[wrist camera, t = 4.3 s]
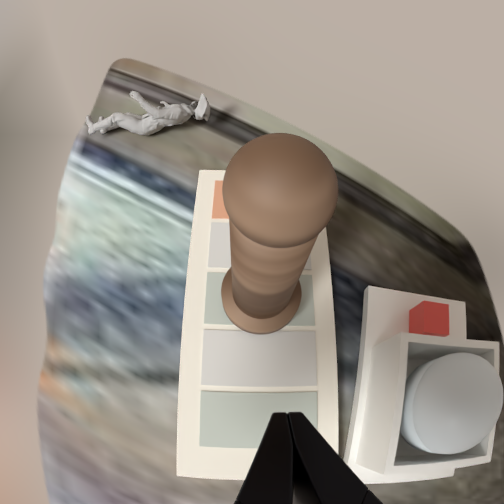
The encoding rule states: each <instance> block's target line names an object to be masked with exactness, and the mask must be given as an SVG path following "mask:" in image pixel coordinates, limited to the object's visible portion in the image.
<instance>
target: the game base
mask: <svg viewBox="0 0 504 504" xmlns="http://www.w3.org/2000/svg"><path fill="white" fill-rule="evenodd" d="M453 353H471V354H475V355H478V356H480V357H482V358H484V359H486V360H487V361H488V362H489V363H490V364H491V365H492V366H493V367H494V368H495V370H496V371H497V373H498V375H499V342H493V341H481V340H470V339H466V307H465V302H462V301H456V300H450V299H444V298H438V297H432V296H426V295H420V294H414V293H409V292H403V291H397V290H391V289H385V288H380V287H374V286H368V287H367V288H366V289H365V290H364V301H363V316H362V329H361V340H360V351H359V360H358V369H357V378H356V386H355V393H354V400H353V407H352V414H351V420H350V426H349V432H348V438H347V443H346V449H345V454H344V459H343V461H344V462H345V463H346V464H347V465H348V466H349V467H350V469H351V470H352V471H353V472H354V473H355V474H356V475H357V476H358V478H359V479H360V480H361V481H362V482H363V483H364V484H378V483H397V482H410V481H421V480H429V479H437V478H444V477H451V476H453V475H454V470H455V468H460V467H467V466H472V465H478V464H483V463H487V462H490V461H491V455H492V449H493V442H494V435H495V427H496V424H495V426H494V427H493V429H492V430H491V432H490V433H489V434H488V435H487V436H486V437H485V438H484V439H483V440H482V441H481V442H480V443H478V444H477V445H476V446H474V447H472V448H470V449H468V450H466V451H463V452H460V453H455V454H437V453H430V452H423V451H419V450H416V449H415V448H413V447H411V446H410V445H409V444H408V443H407V442H406V441H405V440H404V438H403V437H402V435H401V433H400V425H401V418H402V410H403V402H404V393H405V383H406V379H407V378H408V376H409V375H410V374H411V373H412V372H413V371H414V370H415V369H416V368H417V367H419V366H420V365H422V364H424V363H426V362H428V361H431V360H434V359H437V358H440V357H443V356H446V355H449V354H453Z"/></svg>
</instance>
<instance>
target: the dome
mask: <svg viewBox="0 0 504 504" xmlns="http://www.w3.org/2000/svg"><path fill="white" fill-rule="evenodd" d="M502 405H503V387H502V382H501V379H500V377H499V375H498V373H497V371H496V370H495V368H494V367H493V366H492V365H491V364H490V363H489V362H488V361H487V360H486V359H484V358H482V357H480V356H478V355H475V354H471V353H453V354H449V355H446V356H443V357H440V358H437V359H434V360H431V361H428V362H426V363H424V364H422V365H420V366H419V367H417V368H416V369H415V370H414V371H413V372H412V373H411V374H410V375H409V376H408V378H407V379H406V383H405V393H404V402H403V410H402V418H401V425H400V433H401V435H402V437H403V438H404V440H405V441H406V442H407V443H408V444H409V445H410V446H411V447H413V448H415V449H416V450H419V451H423V452H430V453H437V454H455V453H460V452H463V451H466V450H468V449H470V448H472V447H474V446H476V445H477V444H478V443H480V442H481V441H482V440H483V439H484V438H485V437H486V436H487V435H488V434H489V433H490V432H491V430H492V429H493V427H494V426H495V424H496V422H497V420H498V418H499V416H500V413H501V410H502Z"/></svg>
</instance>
